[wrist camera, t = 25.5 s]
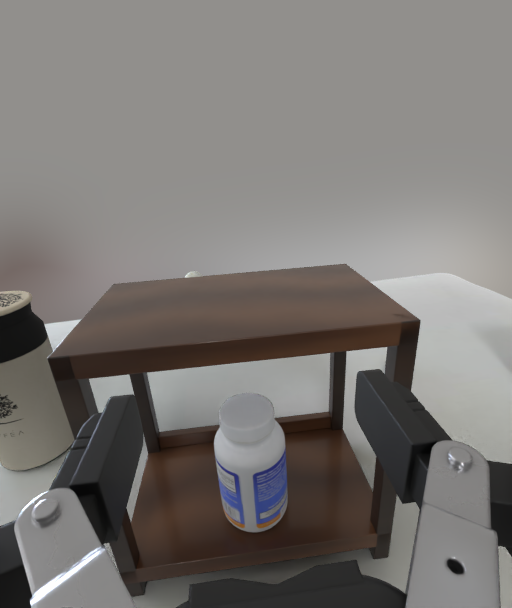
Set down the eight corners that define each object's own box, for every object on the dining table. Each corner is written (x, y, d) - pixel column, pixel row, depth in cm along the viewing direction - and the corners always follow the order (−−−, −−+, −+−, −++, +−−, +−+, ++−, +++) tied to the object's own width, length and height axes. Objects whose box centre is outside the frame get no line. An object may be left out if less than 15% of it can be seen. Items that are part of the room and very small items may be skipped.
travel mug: (44, 416, 45) (-4, 287, 38) (93, 426, 42) (51, 291, 36) (-16, 464, 38) (-88, 317, 31) (38, 479, 35) (-27, 324, 29)
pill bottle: (287, 475, 30) (284, 385, 27) (288, 537, 26) (285, 436, 22) (227, 474, 31) (216, 386, 27) (217, 534, 26) (201, 435, 22)
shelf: (388, 557, 27) (421, 320, 19) (127, 597, 25) (46, 358, 17) (338, 442, 38) (345, 263, 30) (155, 465, 36) (113, 283, 28)
